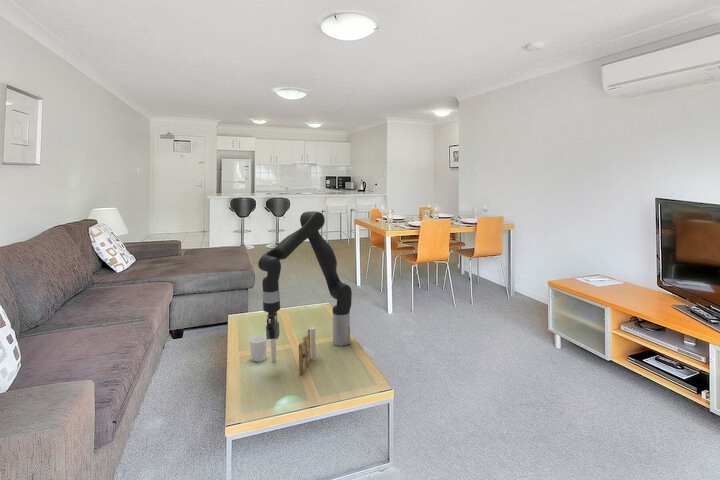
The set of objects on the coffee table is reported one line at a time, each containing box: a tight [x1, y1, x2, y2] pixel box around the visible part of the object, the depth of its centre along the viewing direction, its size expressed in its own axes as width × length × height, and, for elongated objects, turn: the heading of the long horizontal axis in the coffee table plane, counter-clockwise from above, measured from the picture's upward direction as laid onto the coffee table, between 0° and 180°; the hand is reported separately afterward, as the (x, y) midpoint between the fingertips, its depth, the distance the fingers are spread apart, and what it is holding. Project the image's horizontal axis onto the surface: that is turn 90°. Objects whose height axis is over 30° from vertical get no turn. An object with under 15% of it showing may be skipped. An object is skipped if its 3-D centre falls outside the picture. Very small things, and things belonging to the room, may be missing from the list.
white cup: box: [249, 335, 268, 363], centre depth 181 cm, size 8×8×10 cm
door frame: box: [270, 326, 317, 362], centre depth 179 cm, size 21×2×16 cm, turn 94°
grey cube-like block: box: [265, 321, 280, 340], centre depth 168 cm, size 5×5×6 cm
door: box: [298, 329, 311, 375], centre depth 172 cm, size 16×2×15 cm, turn 173°
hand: (273, 335), depth 168 cm, fingers closed on grey cube-like block, 5 cm apart
